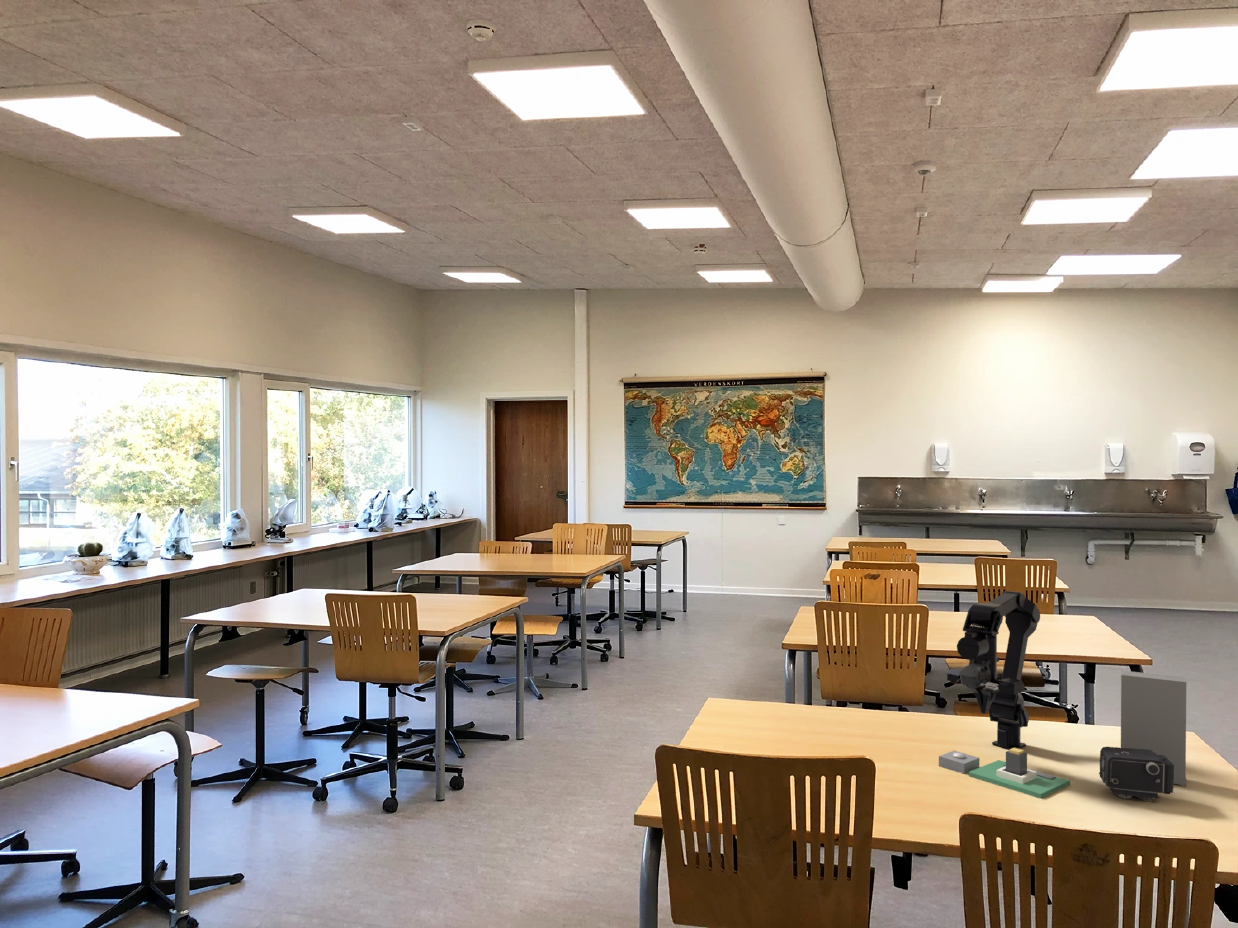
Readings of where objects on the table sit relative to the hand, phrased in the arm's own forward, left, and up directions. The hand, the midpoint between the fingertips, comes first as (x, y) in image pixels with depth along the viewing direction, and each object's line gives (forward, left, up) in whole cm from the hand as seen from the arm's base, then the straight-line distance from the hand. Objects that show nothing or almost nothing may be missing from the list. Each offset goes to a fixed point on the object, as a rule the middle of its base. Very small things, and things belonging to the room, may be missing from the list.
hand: (984, 713), depth 231 cm
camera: (-4, +35, -12) cm, 37 cm away
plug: (+8, +13, -11) cm, 19 cm away
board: (+7, +13, -12) cm, 19 cm away
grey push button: (+10, -1, -12) cm, 16 cm away
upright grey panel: (-21, +32, -12) cm, 40 cm away
